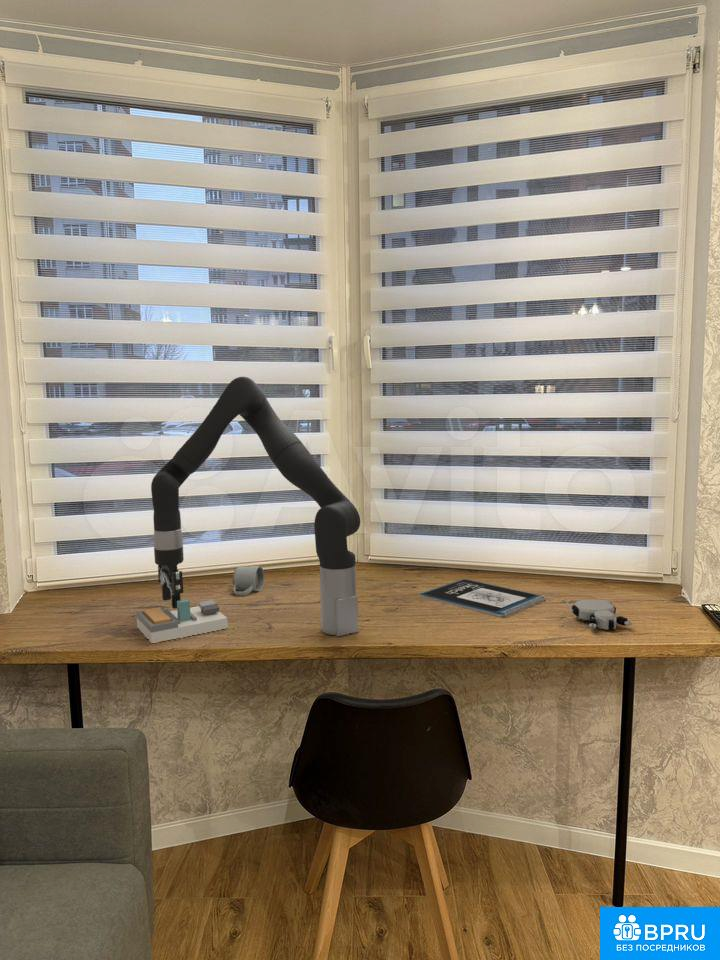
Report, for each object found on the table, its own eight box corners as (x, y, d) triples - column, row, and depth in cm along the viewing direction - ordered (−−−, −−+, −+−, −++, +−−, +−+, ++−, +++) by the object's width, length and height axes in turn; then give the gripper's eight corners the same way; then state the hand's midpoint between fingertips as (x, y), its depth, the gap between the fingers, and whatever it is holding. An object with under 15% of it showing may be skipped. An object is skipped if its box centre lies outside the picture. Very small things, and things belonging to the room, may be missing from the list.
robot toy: (634, 635, 185) (607, 612, 199) (636, 618, 184) (608, 596, 198) (588, 638, 183) (564, 614, 198) (589, 621, 182) (565, 598, 197)
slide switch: (190, 619, 190) (189, 601, 190) (180, 621, 189) (179, 602, 188) (188, 617, 192) (187, 599, 191) (177, 619, 191) (176, 601, 190)
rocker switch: (219, 614, 195) (219, 607, 195) (204, 617, 193) (204, 610, 193) (212, 606, 199) (213, 599, 199) (198, 608, 197) (198, 602, 197)
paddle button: (171, 626, 185) (170, 618, 185) (155, 629, 183) (154, 621, 183) (158, 614, 195) (158, 607, 194) (143, 617, 193) (143, 609, 192)
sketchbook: (464, 583, 232) (464, 576, 232) (547, 602, 211) (547, 595, 211) (419, 597, 217) (419, 590, 217) (504, 620, 196) (504, 612, 196)
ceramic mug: (241, 585, 231) (239, 562, 230) (265, 587, 229) (264, 563, 228) (227, 596, 221) (225, 571, 220) (252, 597, 219) (251, 572, 218)
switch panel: (227, 628, 192) (227, 612, 191) (151, 644, 182) (150, 626, 181) (209, 614, 204) (208, 598, 203) (137, 628, 194) (136, 611, 193)
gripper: (190, 548, 192) (193, 608, 194) (174, 538, 204) (176, 594, 206) (162, 552, 188) (165, 613, 190) (147, 542, 200) (150, 599, 202)
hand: (171, 603), depth 198 cm, fingers open, 8 cm apart
